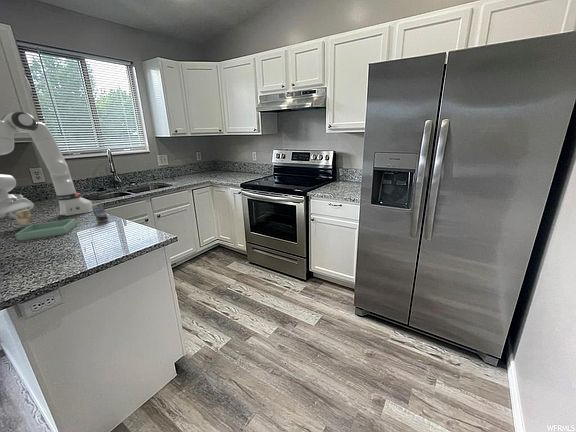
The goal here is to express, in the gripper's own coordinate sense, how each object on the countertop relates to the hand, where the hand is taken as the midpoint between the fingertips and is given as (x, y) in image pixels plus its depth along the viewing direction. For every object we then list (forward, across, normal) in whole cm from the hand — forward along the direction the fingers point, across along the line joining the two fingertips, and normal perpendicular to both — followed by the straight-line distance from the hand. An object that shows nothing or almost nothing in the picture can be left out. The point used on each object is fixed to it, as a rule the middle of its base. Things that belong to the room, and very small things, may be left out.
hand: (24, 216), depth 163 cm
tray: (+22, -7, -12) cm, 26 cm away
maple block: (+3, 0, +4) cm, 4 cm away
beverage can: (+35, +12, -24) cm, 44 cm away
